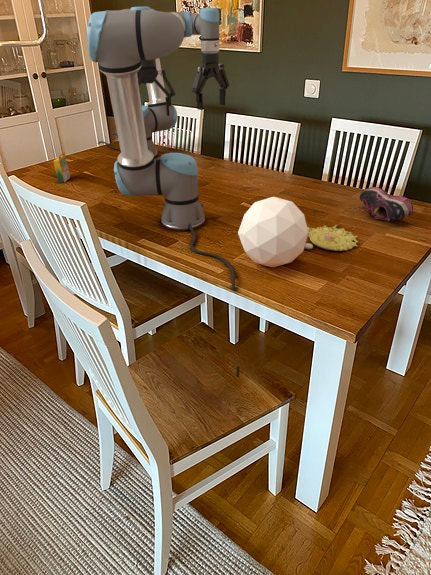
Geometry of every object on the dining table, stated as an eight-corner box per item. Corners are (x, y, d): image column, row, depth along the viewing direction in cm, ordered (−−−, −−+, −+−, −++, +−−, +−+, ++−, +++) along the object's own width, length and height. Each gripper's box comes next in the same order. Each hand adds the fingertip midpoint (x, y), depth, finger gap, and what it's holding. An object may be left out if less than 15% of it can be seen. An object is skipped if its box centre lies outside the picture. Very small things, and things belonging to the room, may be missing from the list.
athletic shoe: (369, 185, 163) (343, 194, 159) (416, 181, 144) (388, 190, 140) (374, 215, 166) (349, 224, 162) (420, 215, 146) (393, 225, 143)
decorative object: (343, 255, 128) (285, 234, 139) (342, 262, 130) (284, 241, 140) (372, 230, 142) (317, 213, 152) (371, 237, 143) (316, 219, 153)
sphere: (280, 289, 130) (288, 262, 111) (225, 253, 134) (224, 221, 116) (315, 241, 135) (328, 208, 116) (260, 208, 139) (265, 171, 121)
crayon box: (64, 177, 201) (58, 151, 195) (70, 177, 201) (65, 151, 195) (58, 182, 195) (52, 156, 189) (64, 182, 195) (58, 156, 189)
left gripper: (194, 55, 172) (196, 113, 183) (237, 50, 186) (237, 103, 198) (181, 54, 176) (184, 110, 188) (224, 49, 191) (225, 101, 202)
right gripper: (176, 53, 169) (180, 112, 180) (110, 56, 164) (118, 116, 176) (179, 55, 163) (183, 115, 174) (111, 58, 158) (119, 120, 169)
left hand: (211, 107), depth 193 cm, fingers open, 13 cm apart
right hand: (151, 116), depth 175 cm, fingers open, 13 cm apart
